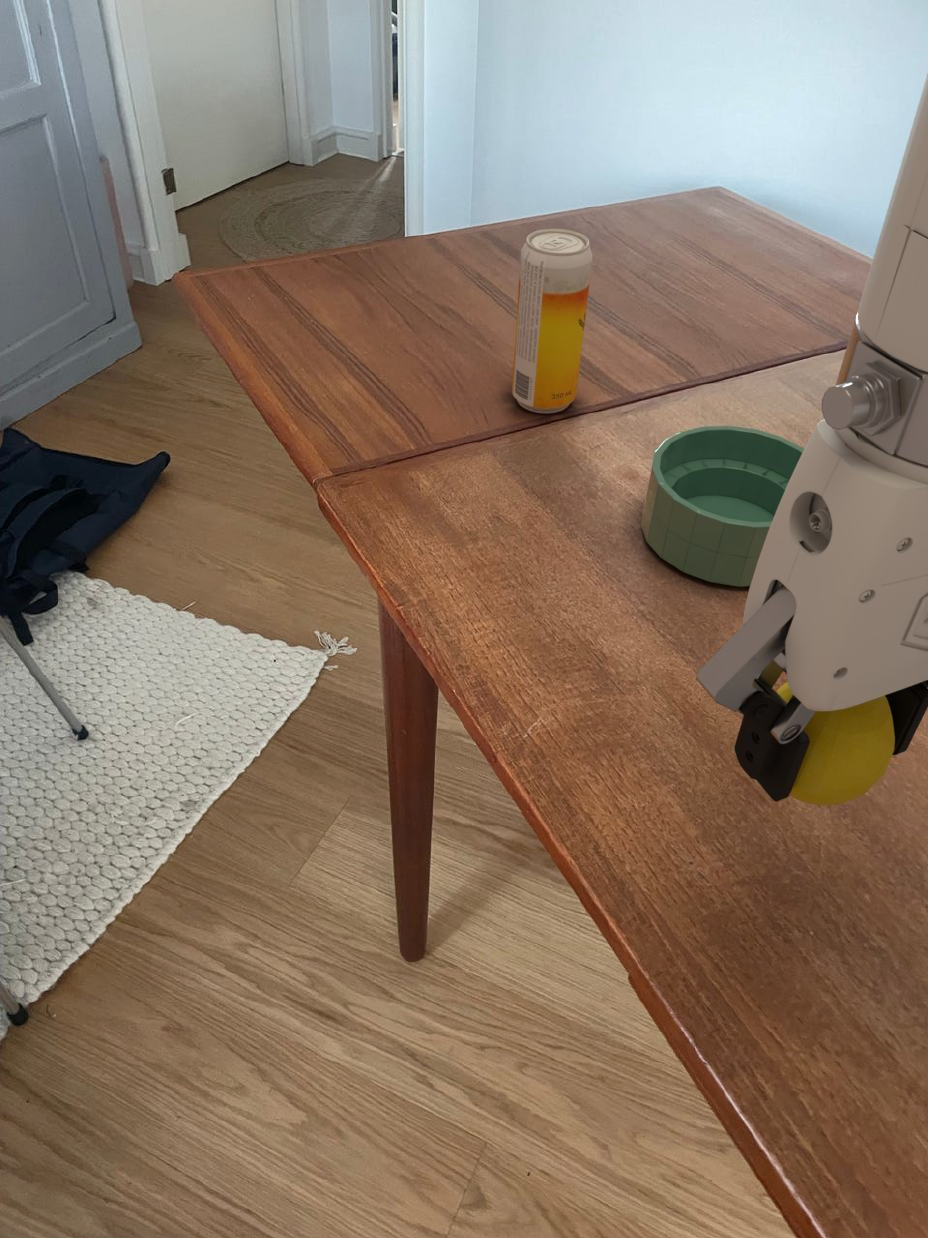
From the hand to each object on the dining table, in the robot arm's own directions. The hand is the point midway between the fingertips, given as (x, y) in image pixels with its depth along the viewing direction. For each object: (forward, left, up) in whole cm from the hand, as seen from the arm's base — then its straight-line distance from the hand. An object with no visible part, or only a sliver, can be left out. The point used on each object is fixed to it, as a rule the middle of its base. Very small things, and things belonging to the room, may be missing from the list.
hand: (819, 750), depth 42 cm
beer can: (+51, -13, -13) cm, 55 cm away
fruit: (0, 0, -3) cm, 3 cm away
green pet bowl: (+27, -17, -13) cm, 35 cm away
